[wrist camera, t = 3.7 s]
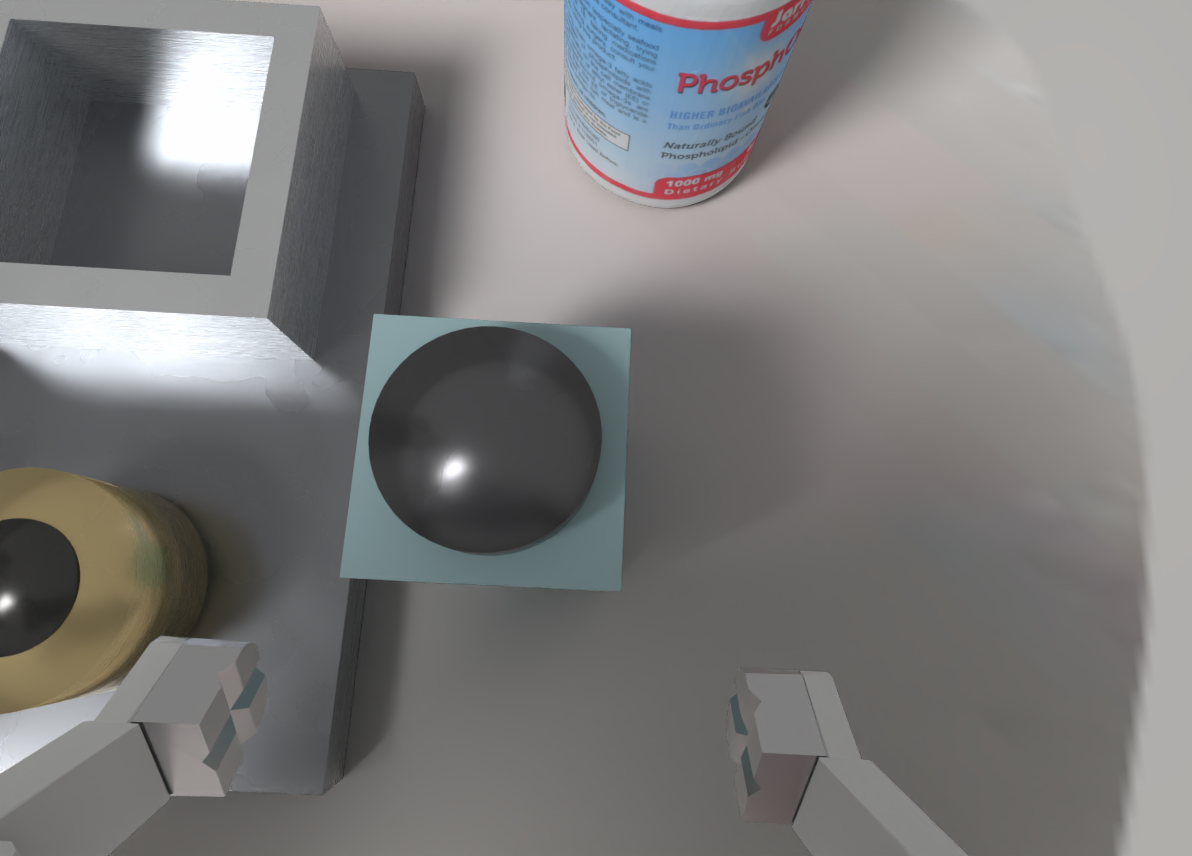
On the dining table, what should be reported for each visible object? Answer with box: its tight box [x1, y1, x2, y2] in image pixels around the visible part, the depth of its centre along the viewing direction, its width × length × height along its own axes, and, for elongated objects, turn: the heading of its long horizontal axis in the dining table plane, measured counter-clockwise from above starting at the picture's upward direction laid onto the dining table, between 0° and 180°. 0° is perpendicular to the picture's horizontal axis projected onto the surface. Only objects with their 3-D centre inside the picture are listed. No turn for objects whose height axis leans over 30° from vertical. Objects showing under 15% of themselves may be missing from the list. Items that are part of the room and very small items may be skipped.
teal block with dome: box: [340, 314, 631, 591], centre depth 16 cm, size 5×5×8 cm
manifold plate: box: [0, 0, 425, 795], centre depth 18 cm, size 12×20×5 cm, turn 177°
